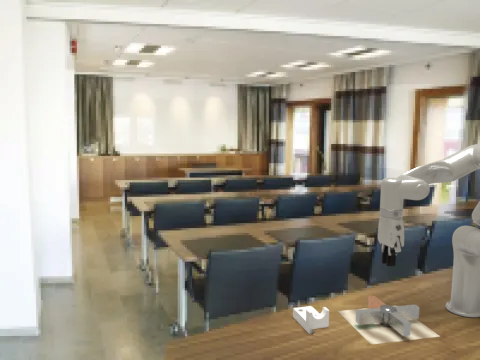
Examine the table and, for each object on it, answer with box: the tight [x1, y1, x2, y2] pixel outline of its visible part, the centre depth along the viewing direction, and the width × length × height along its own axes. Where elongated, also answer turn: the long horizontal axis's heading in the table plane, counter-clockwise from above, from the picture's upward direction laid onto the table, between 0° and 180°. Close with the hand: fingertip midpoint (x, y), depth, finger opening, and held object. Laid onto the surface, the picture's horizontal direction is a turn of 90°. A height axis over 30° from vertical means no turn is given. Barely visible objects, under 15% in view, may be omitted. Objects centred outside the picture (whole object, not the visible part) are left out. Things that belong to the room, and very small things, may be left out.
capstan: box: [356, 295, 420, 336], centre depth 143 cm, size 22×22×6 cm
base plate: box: [337, 304, 441, 345], centre depth 145 cm, size 24×24×2 cm
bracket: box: [292, 305, 330, 335], centre depth 147 cm, size 13×7×8 cm, turn 17°
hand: (388, 264), depth 151 cm, fingers closed
